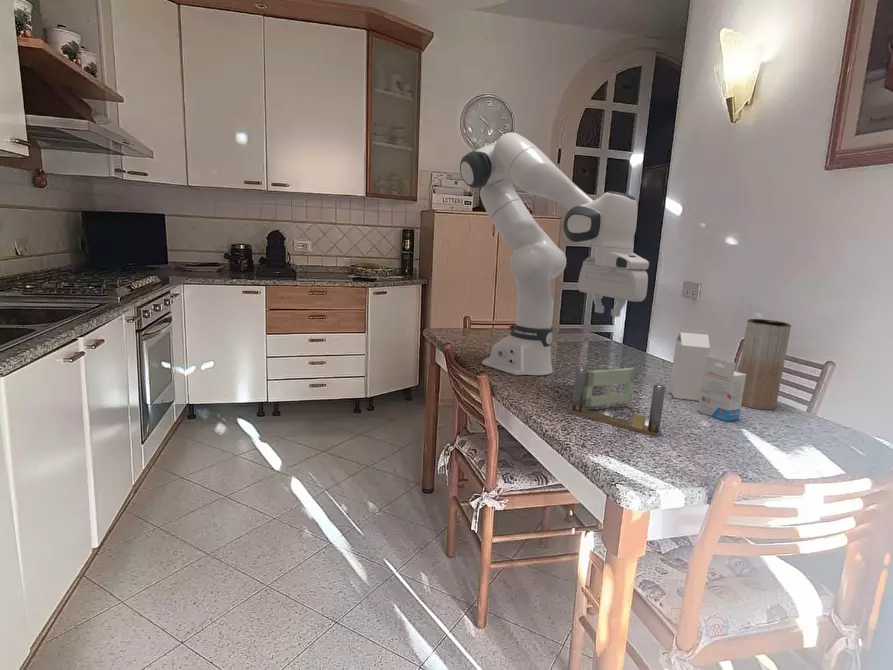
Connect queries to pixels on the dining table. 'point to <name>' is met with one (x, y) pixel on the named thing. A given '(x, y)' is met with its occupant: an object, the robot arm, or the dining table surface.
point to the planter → (763, 362)
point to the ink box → (721, 390)
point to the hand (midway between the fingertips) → (607, 314)
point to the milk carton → (689, 364)
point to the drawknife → (636, 425)
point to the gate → (608, 386)
